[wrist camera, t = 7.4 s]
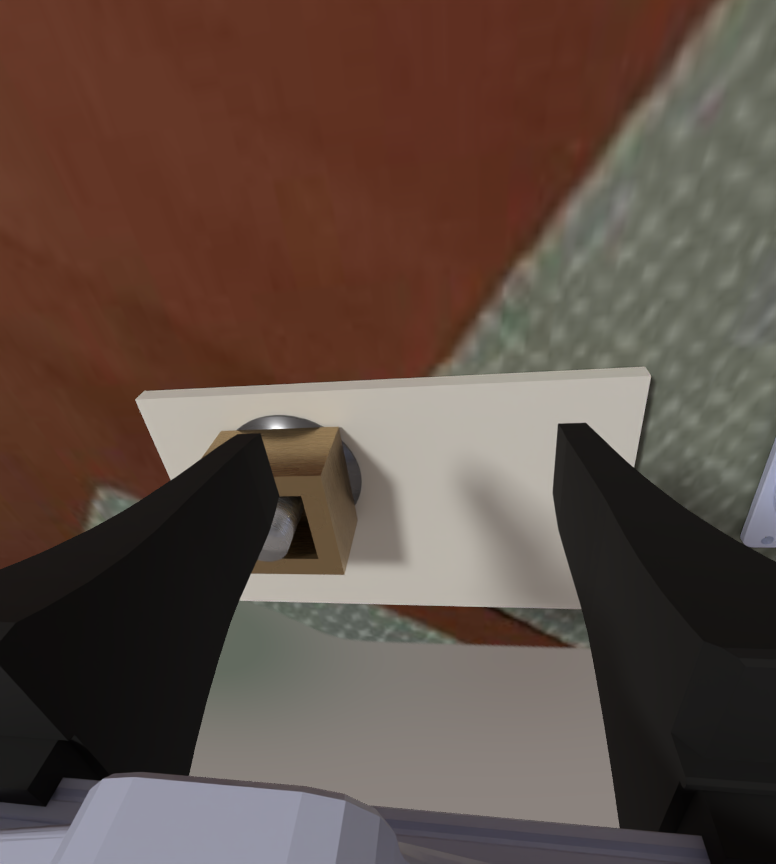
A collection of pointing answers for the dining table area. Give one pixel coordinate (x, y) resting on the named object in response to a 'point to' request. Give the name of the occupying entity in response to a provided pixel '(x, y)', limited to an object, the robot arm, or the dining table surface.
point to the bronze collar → (310, 497)
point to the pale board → (430, 476)
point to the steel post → (293, 506)
